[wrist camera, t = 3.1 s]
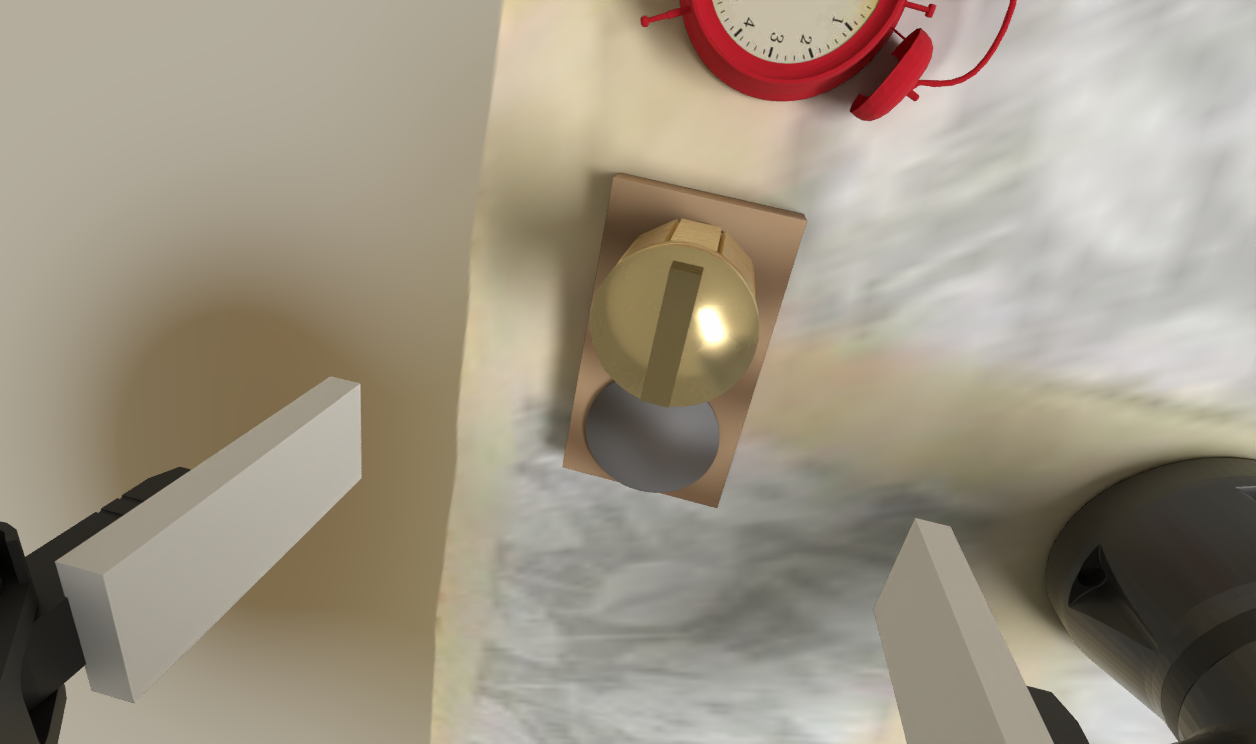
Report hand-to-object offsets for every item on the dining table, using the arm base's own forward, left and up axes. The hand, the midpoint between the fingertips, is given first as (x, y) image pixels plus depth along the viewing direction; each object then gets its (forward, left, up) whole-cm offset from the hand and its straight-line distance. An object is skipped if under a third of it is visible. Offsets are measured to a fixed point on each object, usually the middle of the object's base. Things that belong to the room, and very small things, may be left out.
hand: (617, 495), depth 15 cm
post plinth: (+4, +3, -22) cm, 23 cm away
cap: (0, 0, -18) cm, 18 cm away
